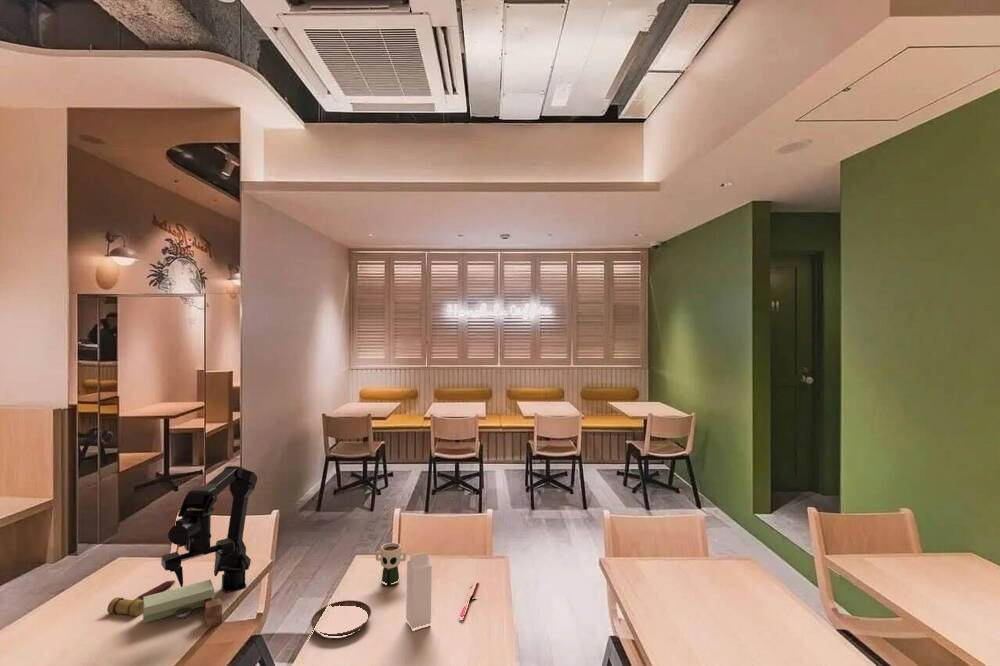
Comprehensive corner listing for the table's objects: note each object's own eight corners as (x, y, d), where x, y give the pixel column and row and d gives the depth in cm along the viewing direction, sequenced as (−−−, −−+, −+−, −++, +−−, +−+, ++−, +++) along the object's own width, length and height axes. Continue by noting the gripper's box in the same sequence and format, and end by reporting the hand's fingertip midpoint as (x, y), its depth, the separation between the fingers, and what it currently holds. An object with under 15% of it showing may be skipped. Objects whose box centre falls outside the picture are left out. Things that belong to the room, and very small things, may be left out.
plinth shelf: (210, 600, 161) (210, 579, 161) (213, 610, 155) (214, 588, 155) (143, 619, 149) (143, 596, 149) (144, 631, 144) (144, 607, 144)
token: (190, 611, 155) (190, 606, 155) (191, 617, 151) (191, 612, 151) (175, 615, 152) (175, 610, 152) (175, 621, 149) (176, 616, 149)
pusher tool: (215, 603, 159) (215, 585, 159) (221, 623, 148) (222, 603, 148) (200, 607, 156) (201, 589, 156) (206, 628, 146) (207, 608, 146)
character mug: (372, 587, 170) (373, 550, 170) (377, 577, 177) (378, 542, 177) (403, 588, 170) (404, 551, 170) (407, 578, 177) (407, 542, 177)
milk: (430, 626, 148) (432, 555, 148) (411, 632, 145) (413, 559, 145) (423, 616, 154) (425, 547, 154) (405, 621, 151) (407, 551, 151)
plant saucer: (300, 643, 140) (300, 632, 140) (323, 608, 158) (323, 599, 158) (361, 644, 140) (361, 634, 140) (377, 609, 157) (377, 600, 157)
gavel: (162, 573, 172) (187, 575, 171) (161, 586, 172) (186, 588, 171) (107, 601, 152) (135, 604, 150) (106, 616, 151) (134, 619, 150)
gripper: (224, 515, 161) (223, 562, 161) (157, 531, 148) (156, 582, 148) (235, 525, 154) (235, 574, 154) (166, 542, 140) (165, 596, 140)
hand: (198, 580), depth 149 cm, fingers open, 9 cm apart
